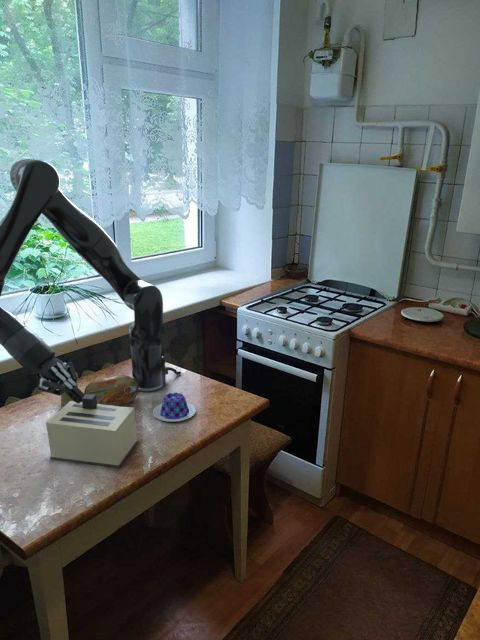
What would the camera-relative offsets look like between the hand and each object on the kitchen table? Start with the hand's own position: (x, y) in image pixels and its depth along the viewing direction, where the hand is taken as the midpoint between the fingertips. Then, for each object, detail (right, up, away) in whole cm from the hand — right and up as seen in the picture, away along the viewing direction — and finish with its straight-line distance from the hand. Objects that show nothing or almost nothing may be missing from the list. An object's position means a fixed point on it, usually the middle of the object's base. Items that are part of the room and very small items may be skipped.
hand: (82, 400), depth 122 cm
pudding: (+19, -6, +19) cm, 28 cm away
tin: (+1, -4, +23) cm, 23 cm away
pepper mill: (-10, -4, +20) cm, 23 cm away
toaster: (+3, -12, +1) cm, 13 cm away
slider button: (+2, -2, 0) cm, 2 cm away
